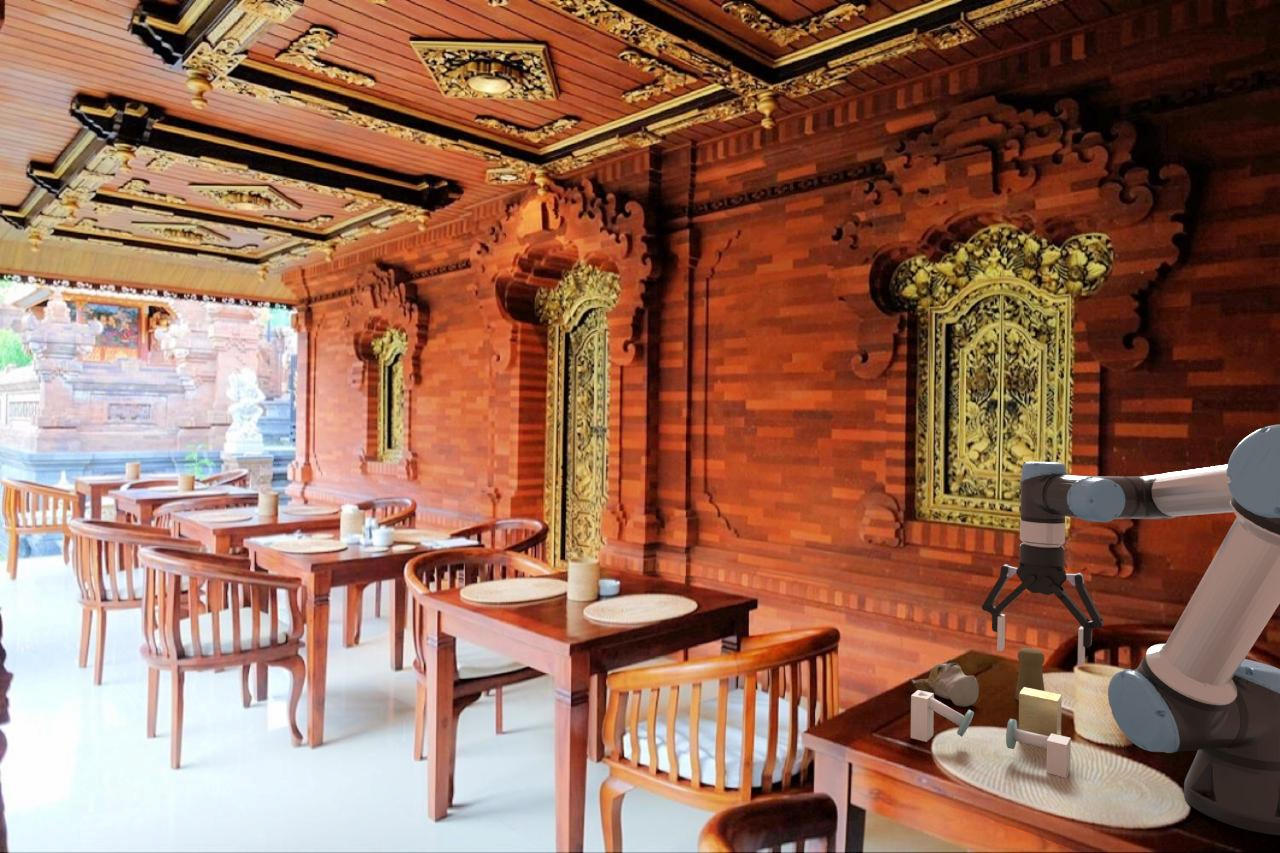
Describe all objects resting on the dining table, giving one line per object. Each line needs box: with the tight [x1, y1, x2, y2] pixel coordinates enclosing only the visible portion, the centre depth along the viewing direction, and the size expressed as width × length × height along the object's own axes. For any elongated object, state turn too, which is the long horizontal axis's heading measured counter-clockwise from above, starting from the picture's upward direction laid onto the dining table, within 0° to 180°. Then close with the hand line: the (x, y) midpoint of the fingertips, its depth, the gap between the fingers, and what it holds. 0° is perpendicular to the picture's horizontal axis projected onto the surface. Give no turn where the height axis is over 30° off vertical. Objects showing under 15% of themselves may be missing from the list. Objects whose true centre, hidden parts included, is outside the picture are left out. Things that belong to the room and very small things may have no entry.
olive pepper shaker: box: [1014, 647, 1046, 702], centre depth 166 cm, size 6×6×11 cm
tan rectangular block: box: [1018, 687, 1062, 736], centre depth 143 cm, size 4×6×9 cm
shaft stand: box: [910, 689, 1072, 779], centre depth 138 cm, size 26×5×8 cm, turn 52°
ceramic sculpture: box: [909, 660, 980, 708], centre depth 166 cm, size 11×9×15 cm
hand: (1039, 656), depth 143 cm, fingers open, 13 cm apart
